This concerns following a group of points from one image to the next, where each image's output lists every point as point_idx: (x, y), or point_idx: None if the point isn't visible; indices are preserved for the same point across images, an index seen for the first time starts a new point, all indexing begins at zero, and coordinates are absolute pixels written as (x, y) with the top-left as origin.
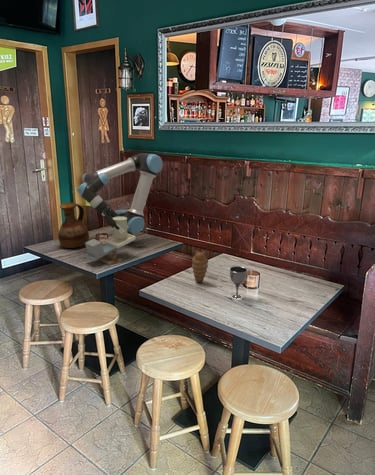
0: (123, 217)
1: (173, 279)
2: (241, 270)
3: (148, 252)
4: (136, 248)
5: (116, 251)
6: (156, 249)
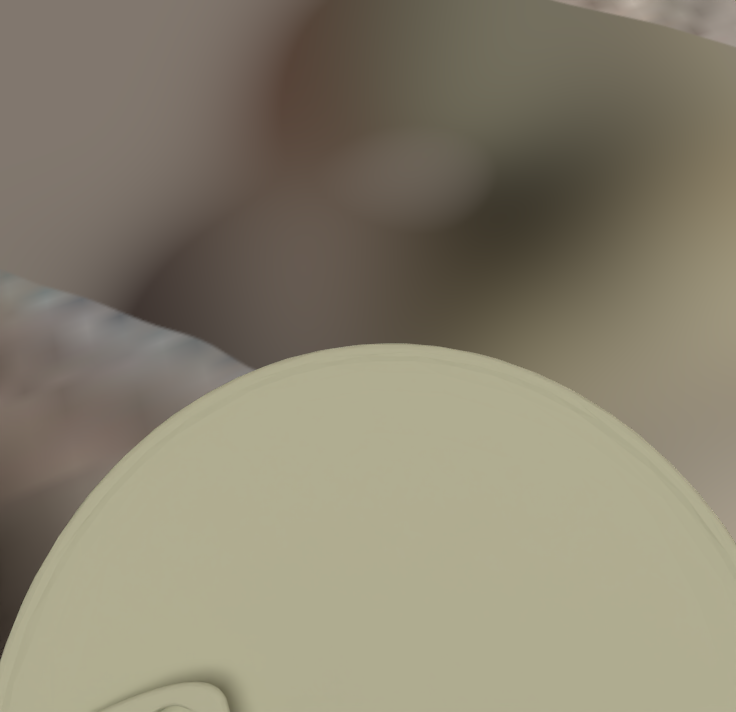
0: (142, 607)
1: (678, 9)
2: None
3: (139, 395)
4: (13, 602)
5: None
6: (19, 351)
